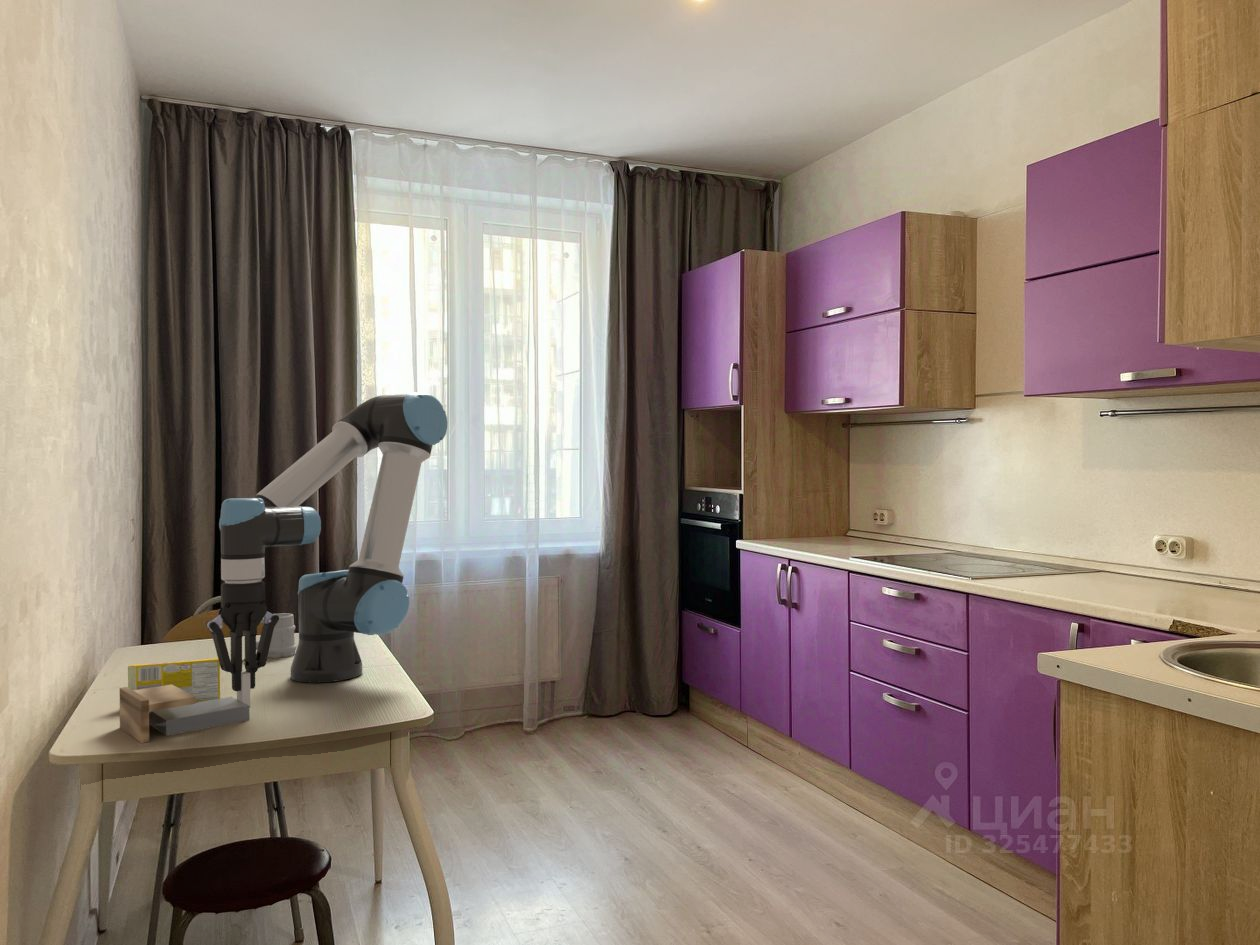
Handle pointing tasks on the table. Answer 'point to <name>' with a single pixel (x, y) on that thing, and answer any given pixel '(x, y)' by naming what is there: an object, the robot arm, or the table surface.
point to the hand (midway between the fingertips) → (243, 707)
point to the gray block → (199, 715)
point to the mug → (282, 637)
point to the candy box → (179, 677)
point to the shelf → (148, 707)
